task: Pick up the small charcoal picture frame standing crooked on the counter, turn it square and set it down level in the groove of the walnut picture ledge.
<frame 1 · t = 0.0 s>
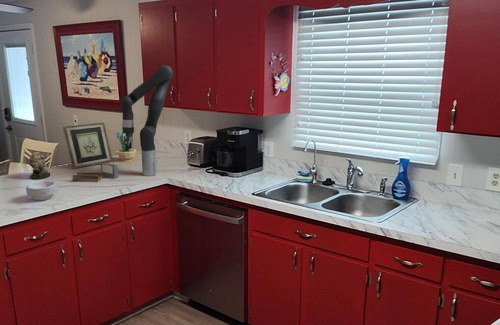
hand: (128, 149, 279), 17 cm above the worktop, tool pointing down, fingers open, 8 cm apart
picture frame: (90, 164, 311), on the worktop
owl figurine: (40, 176, 275), on the worktop
potted cactus: (126, 160, 326), on the worktop
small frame: (109, 177, 276), on the worktop
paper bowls: (42, 198, 230), on the worktop
picture ledge: (88, 179, 269), on the worktop
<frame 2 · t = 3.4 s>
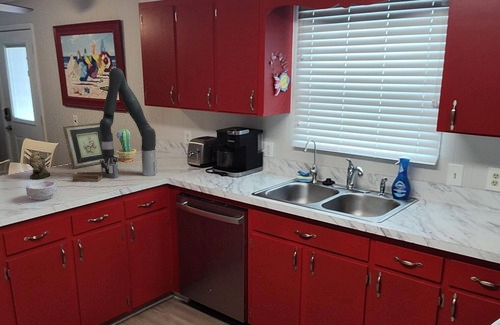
hand: (109, 173, 275), 3 cm above the worktop, tool pointing down, fingers closed on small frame, 3 cm apart
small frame: (109, 176, 276), on the worktop, touching gripper
everything else where it was.
when the fingers open (6 cm above the worktop, at t = 8.5 s): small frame drops 1 cm, resting on picture ledge.
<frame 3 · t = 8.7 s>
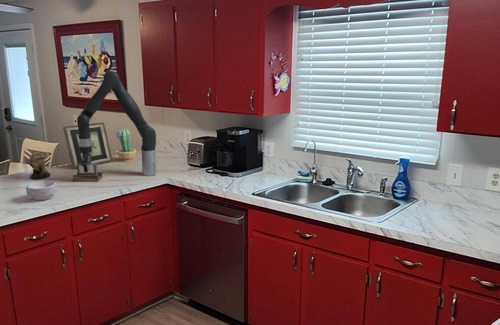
hand: (87, 171, 267), 6 cm above the worktop, tool pointing down, fingers open, 4 cm apart
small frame: (88, 177, 268), point 2 cm above the worktop, touching picture ledge
everything else where it was.
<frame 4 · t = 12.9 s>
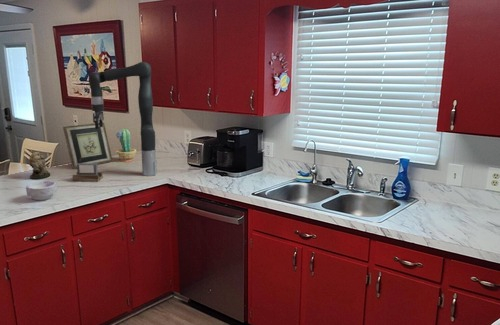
hand: (99, 127, 275), 32 cm above the worktop, tool pointing down, fingers open, 8 cm apart
nothing on the worktop moved.
at the end: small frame 0.2 cm off-centre on the picture ledge, point 1.5 cm above the picture ledge's base; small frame tilted 0°; the gripper is holding nothing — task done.
